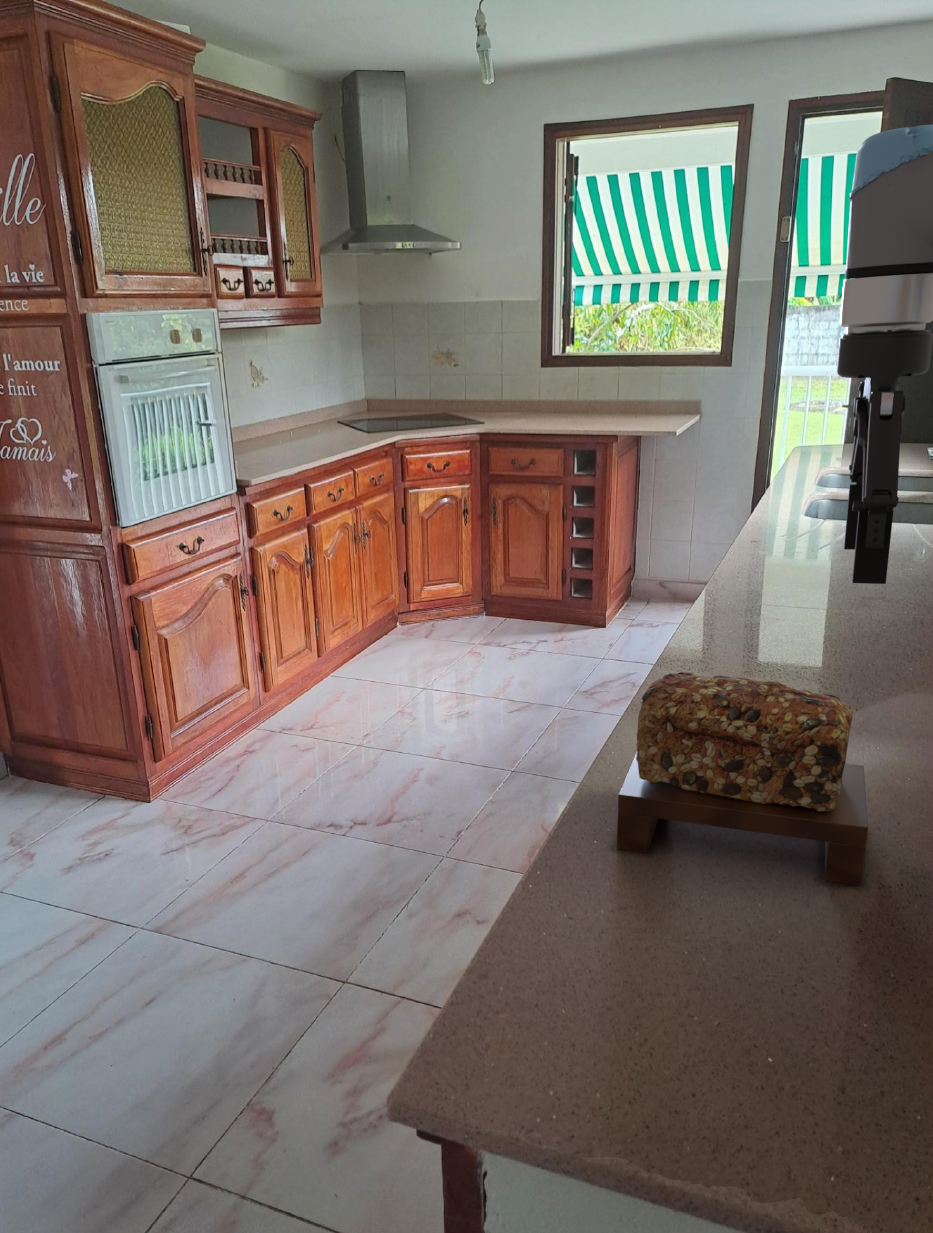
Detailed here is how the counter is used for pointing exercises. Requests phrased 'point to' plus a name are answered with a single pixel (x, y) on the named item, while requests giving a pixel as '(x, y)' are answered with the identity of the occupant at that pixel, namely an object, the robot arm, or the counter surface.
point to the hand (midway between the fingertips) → (863, 565)
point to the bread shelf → (751, 818)
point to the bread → (744, 739)
